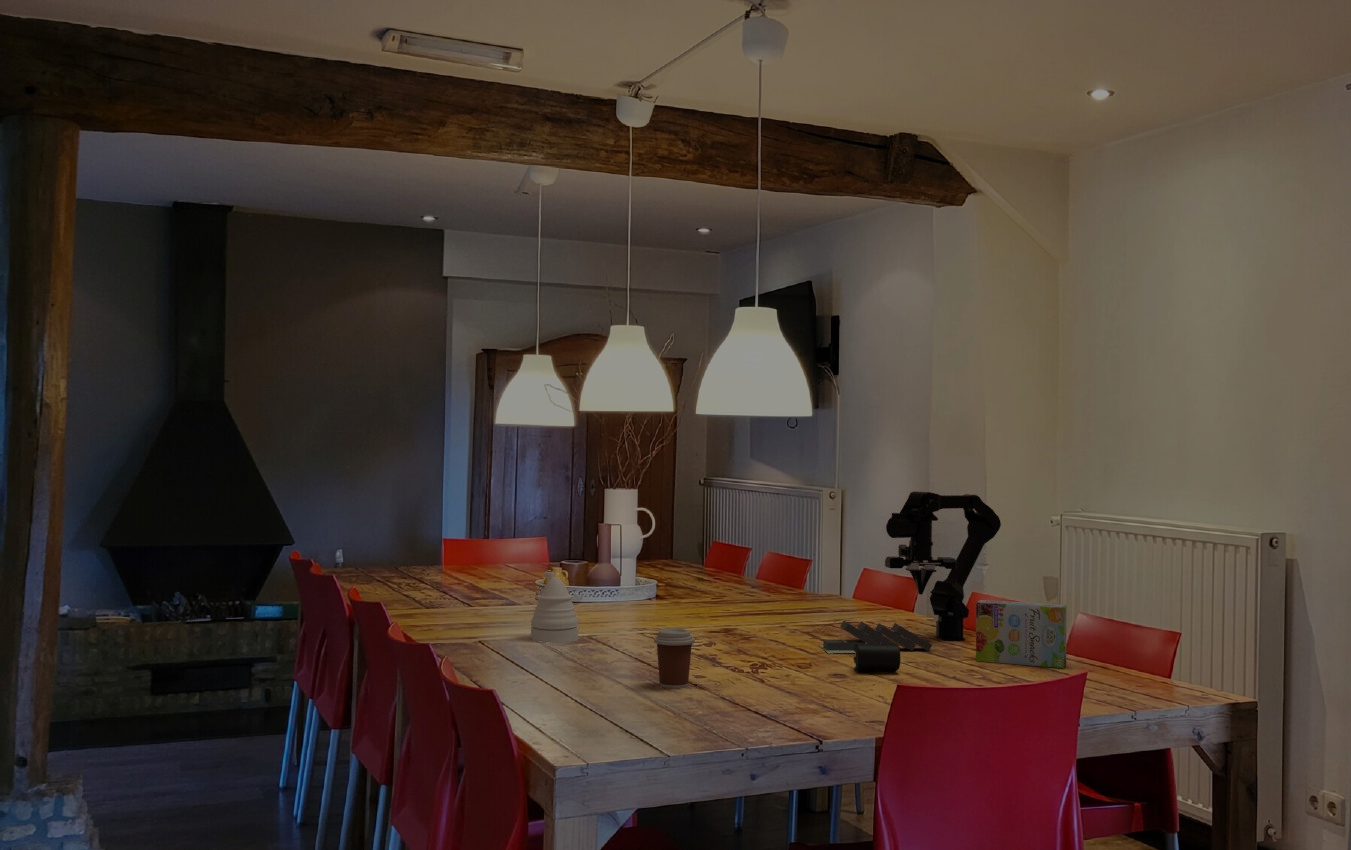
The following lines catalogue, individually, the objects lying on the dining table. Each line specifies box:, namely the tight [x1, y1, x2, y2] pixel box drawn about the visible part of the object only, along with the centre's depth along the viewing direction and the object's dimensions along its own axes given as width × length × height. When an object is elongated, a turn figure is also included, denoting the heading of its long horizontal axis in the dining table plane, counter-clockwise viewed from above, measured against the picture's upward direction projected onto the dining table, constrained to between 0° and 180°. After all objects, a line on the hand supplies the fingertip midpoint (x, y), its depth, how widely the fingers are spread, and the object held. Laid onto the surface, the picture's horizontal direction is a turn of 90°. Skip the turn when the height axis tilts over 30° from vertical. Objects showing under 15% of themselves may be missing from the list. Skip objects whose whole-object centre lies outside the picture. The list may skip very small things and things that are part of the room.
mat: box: [818, 644, 856, 655], centre depth 296 cm, size 9×12×1 cm
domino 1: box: [839, 620, 881, 644], centre depth 297 cm, size 2×5×10 cm
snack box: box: [975, 599, 1067, 669], centre depth 280 cm, size 21×6×15 cm, turn 65°
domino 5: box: [822, 638, 866, 651], centre depth 296 cm, size 2×5×10 cm
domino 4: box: [890, 622, 933, 652], centre depth 297 cm, size 2×5×10 cm
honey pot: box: [530, 571, 579, 644], centre depth 308 cm, size 13×13×18 cm
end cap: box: [853, 643, 901, 674], centre depth 267 cm, size 10×7×7 cm
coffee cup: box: [653, 627, 696, 689], centre depth 250 cm, size 9×9×12 cm
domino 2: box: [856, 621, 896, 644], centre depth 297 cm, size 2×5×10 cm
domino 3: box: [874, 623, 917, 652], centre depth 297 cm, size 2×5×10 cm
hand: (920, 594), depth 310 cm, fingers closed
